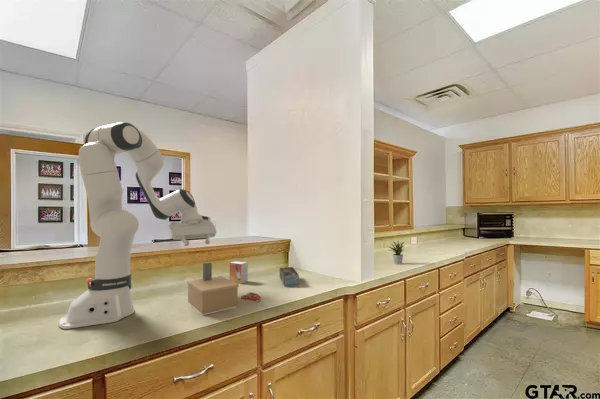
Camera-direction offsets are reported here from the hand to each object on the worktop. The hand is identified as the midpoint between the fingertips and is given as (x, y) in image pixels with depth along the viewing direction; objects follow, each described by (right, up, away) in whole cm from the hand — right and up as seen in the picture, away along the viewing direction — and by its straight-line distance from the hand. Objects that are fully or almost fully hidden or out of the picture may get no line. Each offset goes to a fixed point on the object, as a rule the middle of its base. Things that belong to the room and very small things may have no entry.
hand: (197, 244), depth 136 cm
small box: (+14, -24, +21) cm, 35 cm away
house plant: (+116, -25, +72) cm, 139 cm away
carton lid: (+11, -14, -15) cm, 24 cm away
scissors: (+30, -23, -10) cm, 39 cm away
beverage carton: (+41, -24, +21) cm, 52 cm away
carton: (+11, -22, -16) cm, 30 cm away
